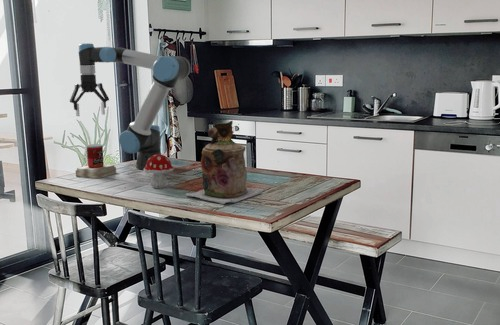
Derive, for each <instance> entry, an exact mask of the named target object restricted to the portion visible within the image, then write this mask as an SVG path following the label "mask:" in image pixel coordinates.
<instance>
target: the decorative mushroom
mask: <svg viewBox="0 0 500 325" xmlns="http://www.w3.org/2000/svg"><path fill="white" fill-rule="evenodd" d="M143 171H144V173H147V174H152V177H151V179H150V186H151V187H152V188H153V189H164V188H167V187H168V185H169V180H168V178H167V176H166V173H172V172H173V171H175V167H174V166H173V165H172V162H171V160H170V159H169V158H168V157H167V156H166V155H164V154H162V153H161V154H156V155H154V156H151V157H150V158H149V159H148V161H147V163H146V166H145V168H144V170H143Z"/></svg>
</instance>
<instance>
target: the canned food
mask: <svg viewBox="0 0 500 325" xmlns="http://www.w3.org/2000/svg"><path fill="white" fill-rule="evenodd" d="M86 158H87V165H88V167H89V168H100V167H103V165H104V164H105V163H104V151H103V144H98V143H93V144H87V145H86Z"/></svg>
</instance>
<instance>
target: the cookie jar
mask: <svg viewBox="0 0 500 325" xmlns="http://www.w3.org/2000/svg"><path fill="white" fill-rule="evenodd" d="M233 134H234V131H233V120H230V121H228V122H217V123H215V124H214V125H213V127H211V128H209V129H208V130H207V135H208V137H209V138H211V140H210V143H208V144H206V145H205V146H204V147H203V148H202V151H201V160H200V165H201V167H200V168H201V170H202V176H201V177H202V182H201V183H202V185H201V186H202V189H201V190H198V191H196V192H191V193H190V192H189V193H187V192H186V193H185V196H186V197H190V198H191V197H193V198H198V199H201V200H204V201H208V202H212V203H218V204H220V205H225V204H226V203H238V202H240V201H243V200H246V199H249V198H252V197H254V196H257V195H262V194H263V191H264V188H254V187H253V188H250V187H247V180H248V172H247V167H246V160H245V159H246V158H245V152H246V146H245V145H242V144H238V143H236V142H235V141H233V139H232V136H233Z"/></svg>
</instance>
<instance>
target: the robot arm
mask: <svg viewBox="0 0 500 325" xmlns="http://www.w3.org/2000/svg"><path fill="white" fill-rule="evenodd" d="M78 57H79V70H80V71H79V72H80V84H79V83H75V84H74V89H73V92H72V94H71V96H70V99H69V102H70V103H72V104H73V110H75V114H76V116H75V117H80V104H79V103H78V102H79V101H80V99H81V98H82V97H83V96H84V94H86V93H94V94H95V95H96V96H97V97H98V98H99V100H101V102H100V111H101V115H106V112H105V110H106V108H107V102H108V101H110V98H109V96H108V94H107V92H106V91H105V89H104V86H103V83H101V82H98V83H97V77H96V63H121V64H125V65H131V66H134V67H140V68H144V69H149V70H152V71H153V72H152V73H153V74H152V77H151V78H152V81H153V82H152V84H151V86H150V88H149V90H148V92H147V94H146V96H145V98H144V101H143V102H142V105H141V107H140V109H139V111H138V112H137V116H136V117H135V119H134V121H131V122H130V123H129V125H128V127H127V128H126V130H124V131H123V132H121V133H120V135H119V138H118V143H119V146H120V148H121V149H122V150H123V152H126V153H127V154H136V153H138V155H137V160H136V162H135V167H136V168H135V169H137V170H141V171H142V170H143V171H144V168H145V166H146V163H147V161H148V159H149V158H150V157H151V156H154V155H156V154H161V155H162V153H161V152H162V151H161V150H162V148H161V130H160V126H159V125H158V124H154V122H155V120H156V118H157V115H158V114H159V112H160V110H161V108H162V106H163V104H164V102H165V100H166V98H167V95H168V94H169V92H170V90H172V89H175V86H176V85H177V82H178V81H179V80H180V81H181V80H184V79H186V78H187V77H188V76H189V75H190V72H191V64H190V62H189V60H188V59H187V58H186V57H183V56H180V55H163V56H162V55H158V54H154V53H149V52H142V51H138V50H134V49H133V50H132V49H127V48H125V47H122V46H121V47H111V46H101V47H100V46H99V47H97V46H96V47H95V46H94V44H93V43H80V44H78ZM80 88H81V90H80ZM97 88H98V89H99V90H98V89H97ZM79 90H80V91H79ZM78 91H79V93H78ZM99 91H100V92H101V93H100V92H99ZM77 94H78V95H77Z"/></svg>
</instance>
